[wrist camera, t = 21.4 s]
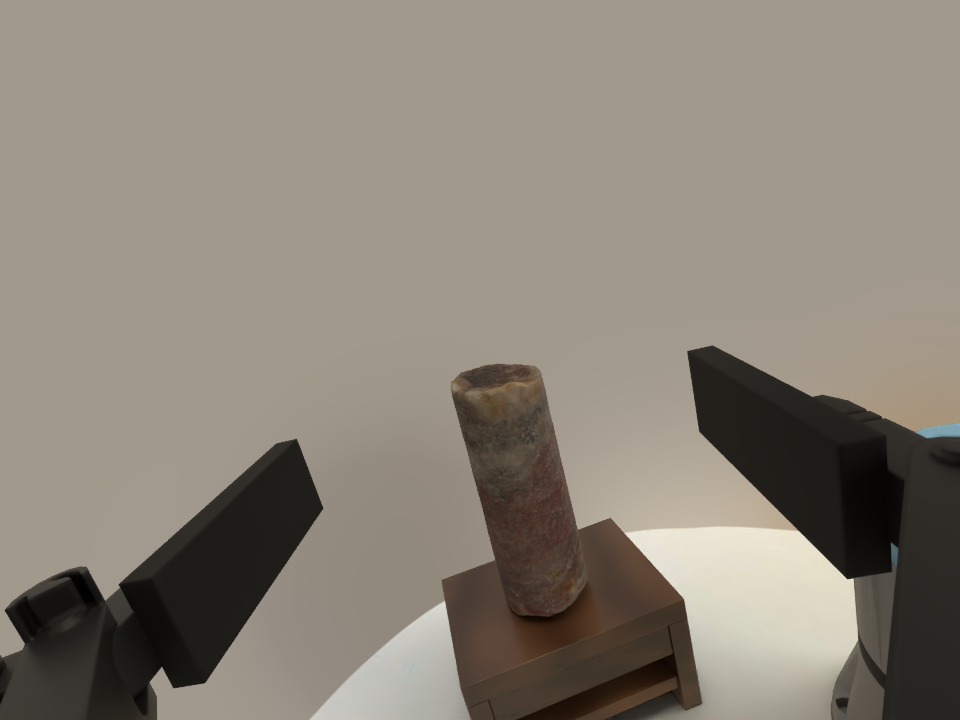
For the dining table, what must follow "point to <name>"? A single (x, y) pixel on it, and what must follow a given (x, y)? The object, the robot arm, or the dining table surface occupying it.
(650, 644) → the shelf
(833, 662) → the dining table surface
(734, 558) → the dining table surface
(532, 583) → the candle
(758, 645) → the dining table surface
